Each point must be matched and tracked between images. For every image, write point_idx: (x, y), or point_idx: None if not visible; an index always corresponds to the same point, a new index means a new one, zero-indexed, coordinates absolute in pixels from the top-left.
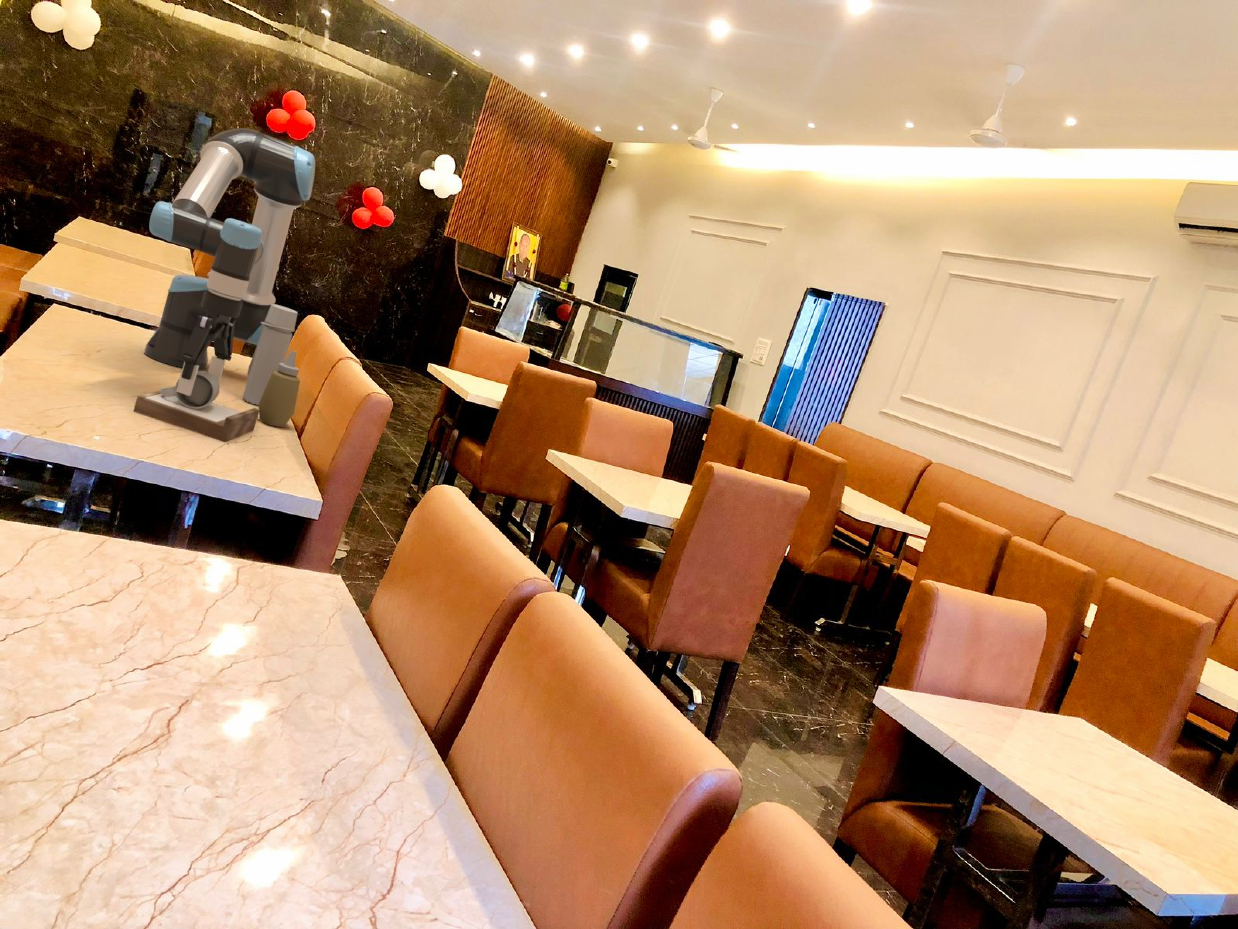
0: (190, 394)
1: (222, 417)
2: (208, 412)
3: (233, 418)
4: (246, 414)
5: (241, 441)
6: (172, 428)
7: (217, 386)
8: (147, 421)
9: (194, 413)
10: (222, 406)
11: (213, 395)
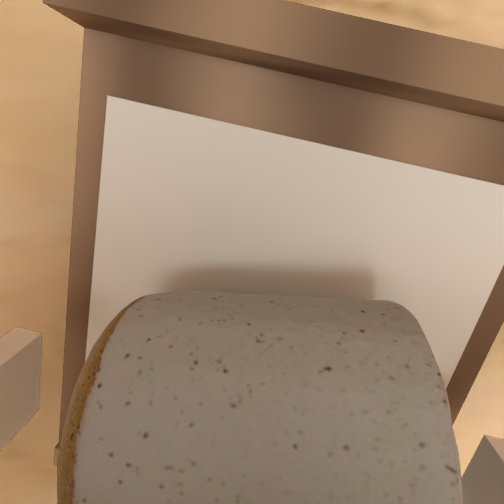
0: (499, 443)
1: (376, 184)
2: (342, 270)
3: None
4: (356, 17)
5: (438, 33)
6: (501, 344)
7: (243, 353)
8: (480, 427)
9: (456, 325)
10: (97, 229)
11: (417, 323)
